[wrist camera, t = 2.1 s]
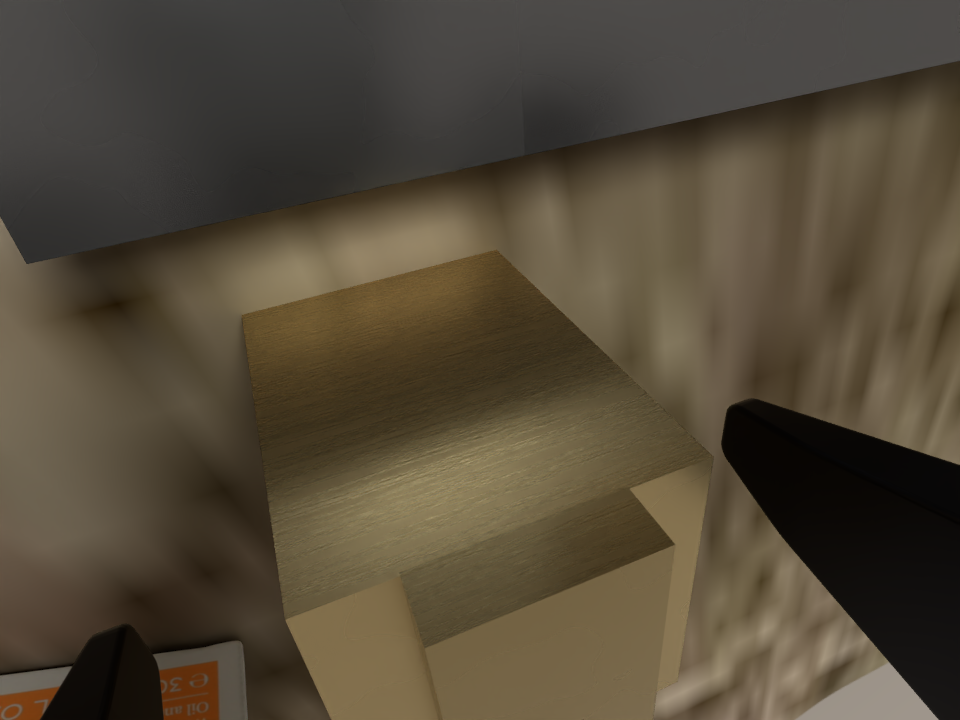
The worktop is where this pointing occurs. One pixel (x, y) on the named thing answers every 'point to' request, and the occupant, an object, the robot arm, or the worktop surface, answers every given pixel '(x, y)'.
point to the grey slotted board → (380, 92)
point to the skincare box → (184, 685)
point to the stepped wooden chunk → (471, 502)
